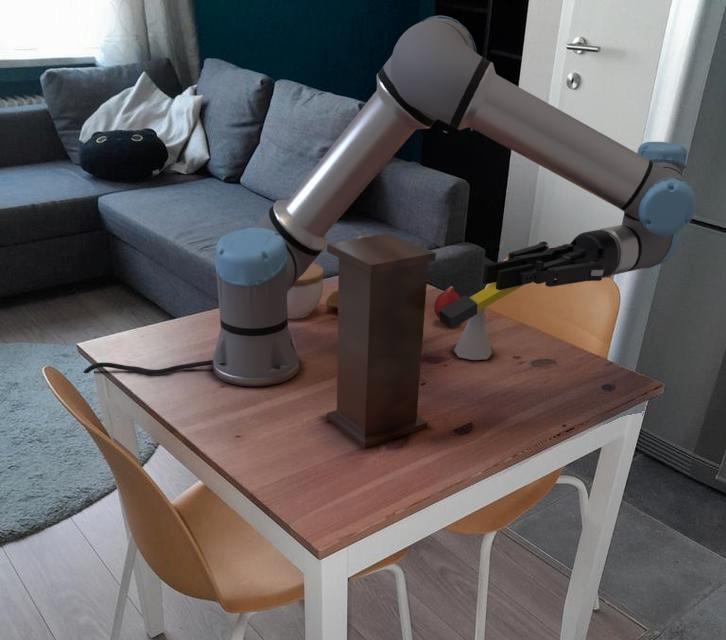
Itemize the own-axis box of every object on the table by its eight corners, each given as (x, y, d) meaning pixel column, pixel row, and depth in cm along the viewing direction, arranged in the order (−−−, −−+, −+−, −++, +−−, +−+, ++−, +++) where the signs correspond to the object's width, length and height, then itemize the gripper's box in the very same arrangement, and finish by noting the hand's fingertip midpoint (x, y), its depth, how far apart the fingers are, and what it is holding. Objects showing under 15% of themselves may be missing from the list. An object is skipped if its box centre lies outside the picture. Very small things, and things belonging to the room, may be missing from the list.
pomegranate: (427, 324, 163) (430, 286, 158) (441, 316, 167) (444, 279, 162) (452, 331, 160) (456, 293, 156) (466, 323, 164) (470, 285, 160)
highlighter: (518, 275, 120) (519, 264, 119) (530, 282, 119) (531, 271, 117) (439, 321, 116) (439, 310, 114) (451, 329, 114) (450, 318, 113)
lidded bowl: (336, 313, 166) (336, 261, 160) (289, 329, 159) (288, 274, 153) (297, 297, 174) (296, 247, 168) (250, 311, 166) (248, 258, 160)
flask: (491, 347, 154) (497, 297, 149) (492, 362, 148) (499, 311, 143) (453, 344, 155) (458, 295, 149) (453, 360, 149) (458, 308, 143)
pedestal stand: (386, 400, 134) (394, 231, 119) (427, 428, 127) (441, 251, 111) (326, 418, 128) (326, 243, 113) (365, 448, 121) (371, 265, 105)
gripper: (634, 291, 124) (525, 319, 112) (562, 263, 134) (455, 287, 123) (645, 242, 120) (533, 266, 108) (570, 218, 130) (460, 238, 118)
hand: (492, 277), depth 115 cm, fingers closed on highlighter, 2 cm apart
